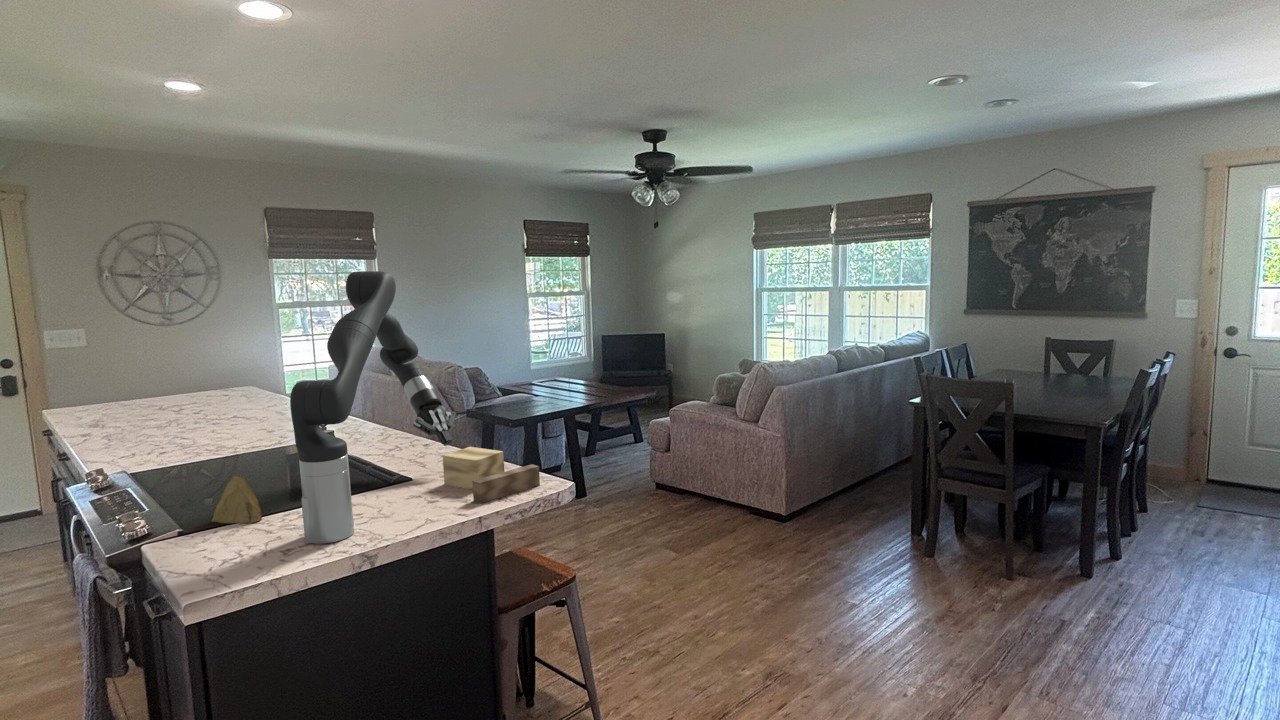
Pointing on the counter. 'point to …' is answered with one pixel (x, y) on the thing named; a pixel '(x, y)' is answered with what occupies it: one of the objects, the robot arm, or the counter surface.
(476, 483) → the walnut board
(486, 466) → the oak block
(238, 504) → the rock
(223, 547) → the counter surface
